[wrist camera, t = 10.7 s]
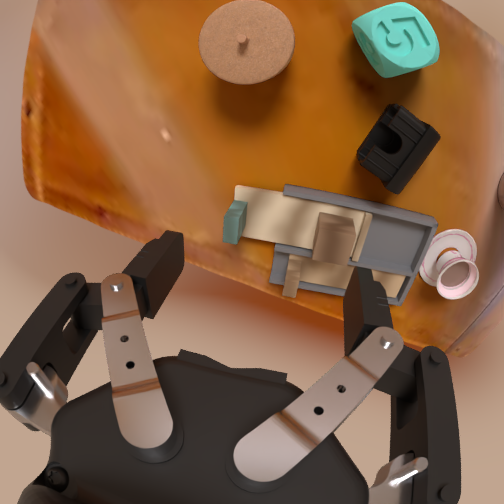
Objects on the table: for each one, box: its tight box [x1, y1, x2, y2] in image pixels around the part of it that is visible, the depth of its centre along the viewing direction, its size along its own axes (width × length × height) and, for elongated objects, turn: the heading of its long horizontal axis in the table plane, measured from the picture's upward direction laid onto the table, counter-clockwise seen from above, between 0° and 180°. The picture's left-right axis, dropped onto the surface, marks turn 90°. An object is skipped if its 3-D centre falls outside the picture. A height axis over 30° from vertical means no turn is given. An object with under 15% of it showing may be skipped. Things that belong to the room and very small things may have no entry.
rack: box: [269, 184, 438, 306], centre depth 45 cm, size 24×17×2 cm
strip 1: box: [223, 185, 372, 262], centre depth 41 cm, size 20×8×6 cm, turn 85°
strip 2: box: [282, 254, 406, 298], centre depth 45 cm, size 20×5×6 cm, turn 85°
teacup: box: [419, 229, 479, 299], centre depth 40 cm, size 12×12×6 cm
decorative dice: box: [352, 2, 440, 78], centre depth 25 cm, size 8×8×8 cm
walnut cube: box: [312, 212, 356, 266], centre depth 41 cm, size 5×5×5 cm
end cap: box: [357, 104, 440, 194], centre depth 33 cm, size 10×7×7 cm
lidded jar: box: [199, 0, 295, 85], centre depth 28 cm, size 11×11×9 cm
